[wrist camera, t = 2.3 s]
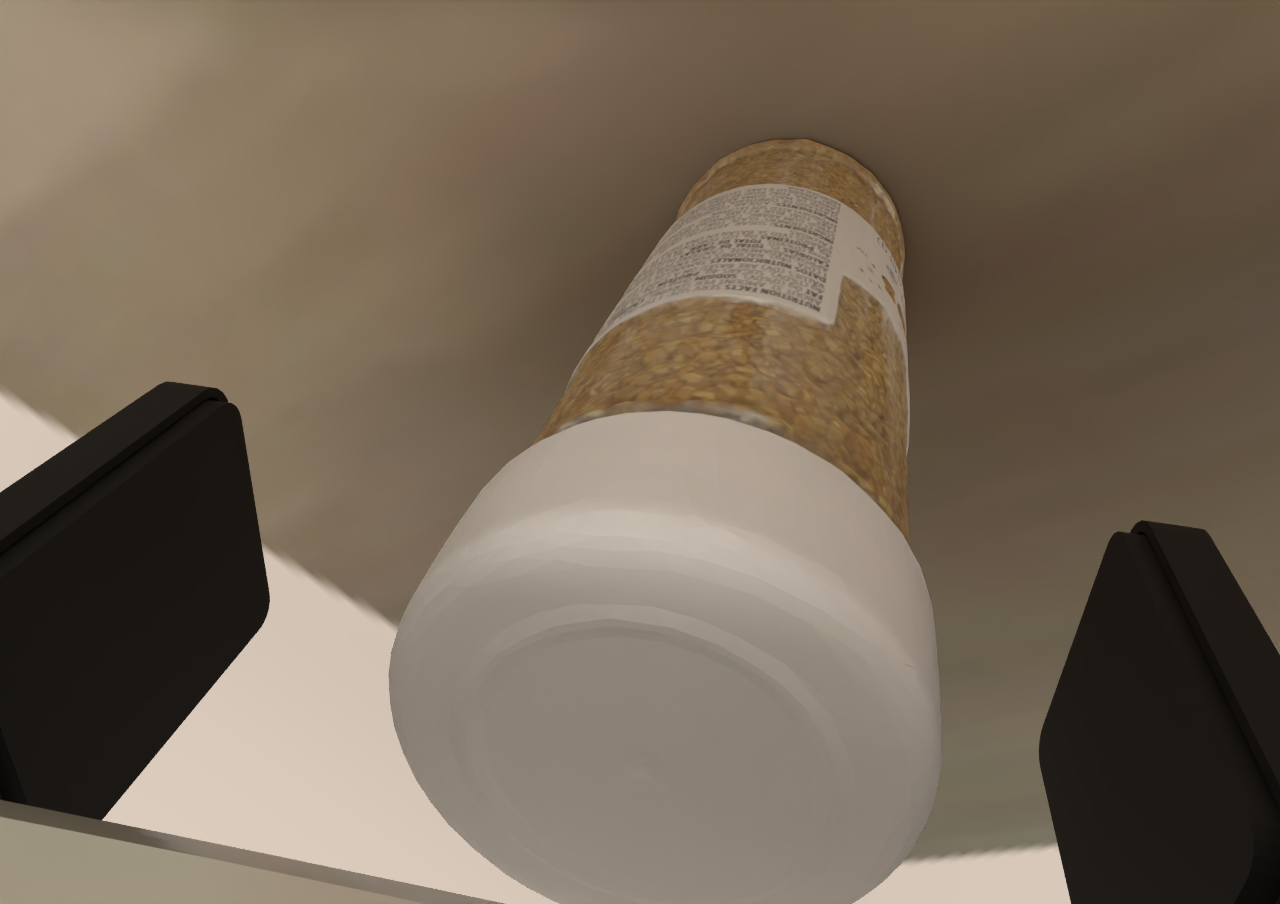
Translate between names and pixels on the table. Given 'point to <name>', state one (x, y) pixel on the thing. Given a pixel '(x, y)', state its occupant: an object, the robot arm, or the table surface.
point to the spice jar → (700, 577)
